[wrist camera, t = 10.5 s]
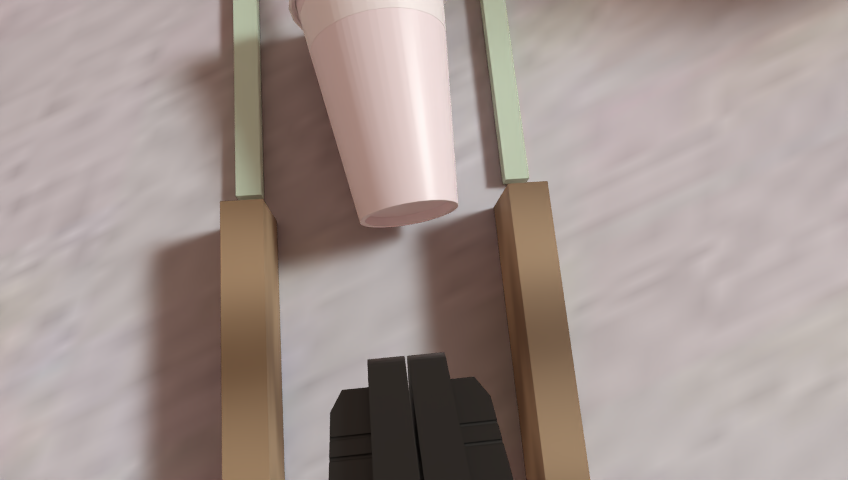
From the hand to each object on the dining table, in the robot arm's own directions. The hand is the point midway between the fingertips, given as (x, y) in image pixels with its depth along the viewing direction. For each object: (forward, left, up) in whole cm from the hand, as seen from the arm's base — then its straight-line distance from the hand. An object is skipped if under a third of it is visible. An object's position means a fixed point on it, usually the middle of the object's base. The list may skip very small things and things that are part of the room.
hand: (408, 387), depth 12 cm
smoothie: (+5, -3, -9) cm, 11 cm away
